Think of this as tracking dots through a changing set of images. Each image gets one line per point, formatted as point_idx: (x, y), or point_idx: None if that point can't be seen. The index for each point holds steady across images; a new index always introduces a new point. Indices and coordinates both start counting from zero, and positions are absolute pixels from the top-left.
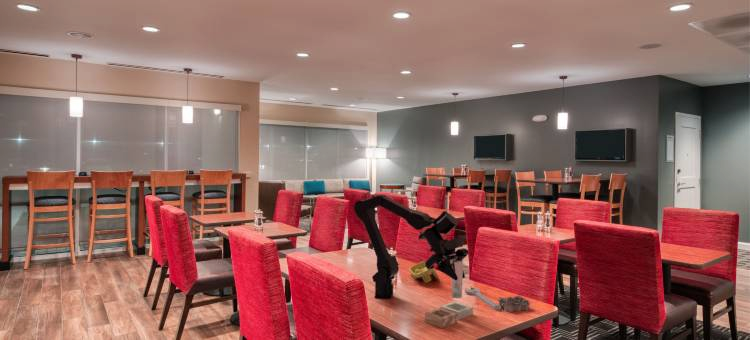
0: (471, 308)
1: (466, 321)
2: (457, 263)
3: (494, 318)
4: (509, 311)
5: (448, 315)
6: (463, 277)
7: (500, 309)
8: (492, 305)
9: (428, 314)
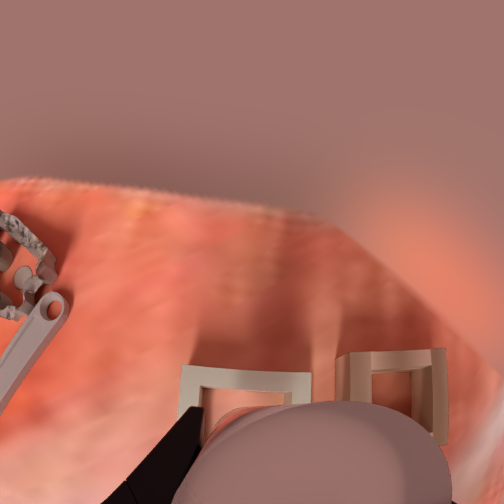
0: (196, 366)
1: (292, 340)
2: (424, 446)
3: (165, 271)
4: (54, 263)
5: (400, 362)
6: (204, 418)
7: (57, 294)
8: (46, 332)
9: (447, 424)
